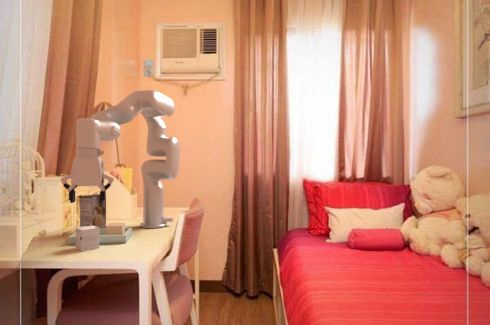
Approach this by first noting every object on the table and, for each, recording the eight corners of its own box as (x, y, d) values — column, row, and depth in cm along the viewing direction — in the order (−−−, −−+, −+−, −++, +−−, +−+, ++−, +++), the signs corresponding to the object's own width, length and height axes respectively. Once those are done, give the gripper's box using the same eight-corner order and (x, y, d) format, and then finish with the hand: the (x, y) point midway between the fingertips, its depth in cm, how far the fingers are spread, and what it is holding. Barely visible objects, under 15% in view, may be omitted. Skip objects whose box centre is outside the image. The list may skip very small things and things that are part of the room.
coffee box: (93, 229, 144) (93, 193, 144) (106, 230, 143) (106, 194, 142) (79, 234, 135) (79, 196, 135) (92, 235, 134) (93, 196, 133)
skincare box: (75, 248, 114) (75, 227, 114) (93, 245, 118) (93, 225, 118) (81, 251, 110) (81, 230, 110) (99, 248, 114) (99, 227, 114)
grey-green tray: (131, 234, 135) (131, 227, 135) (125, 243, 121) (125, 235, 121) (80, 236, 131) (80, 229, 131) (68, 245, 117) (68, 237, 117)
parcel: (125, 235, 131) (125, 222, 131) (122, 238, 125) (122, 225, 125) (109, 235, 129) (109, 223, 129) (105, 239, 124) (105, 226, 124)
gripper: (116, 154, 119) (115, 200, 119) (65, 153, 116) (64, 201, 116) (111, 153, 112) (110, 203, 112) (57, 153, 109) (56, 203, 109)
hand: (87, 202), depth 114 cm, fingers open, 9 cm apart
